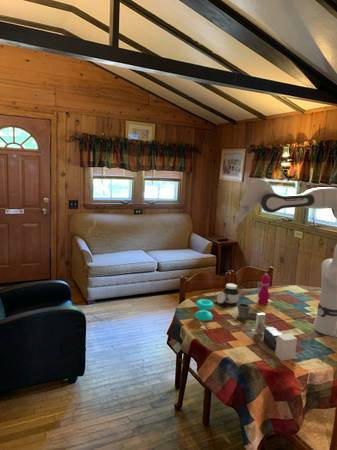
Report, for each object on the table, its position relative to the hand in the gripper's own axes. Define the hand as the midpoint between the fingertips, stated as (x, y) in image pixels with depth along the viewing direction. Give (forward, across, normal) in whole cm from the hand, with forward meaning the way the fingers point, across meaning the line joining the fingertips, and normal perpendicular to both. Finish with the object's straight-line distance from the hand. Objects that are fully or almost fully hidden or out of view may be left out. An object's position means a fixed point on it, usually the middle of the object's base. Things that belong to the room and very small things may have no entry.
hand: (233, 226), depth 191 cm
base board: (+37, -26, -46) cm, 65 cm away
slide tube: (+36, -24, -44) cm, 61 cm away
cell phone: (+50, -16, -23) cm, 57 cm away
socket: (+34, -36, -51) cm, 71 cm away
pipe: (+42, +2, -36) cm, 55 cm away
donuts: (+53, -6, -14) cm, 56 cm away
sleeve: (+36, -27, -46) cm, 64 cm away
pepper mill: (+36, +30, -45) cm, 65 cm away
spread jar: (+47, +21, -25) cm, 57 cm away
